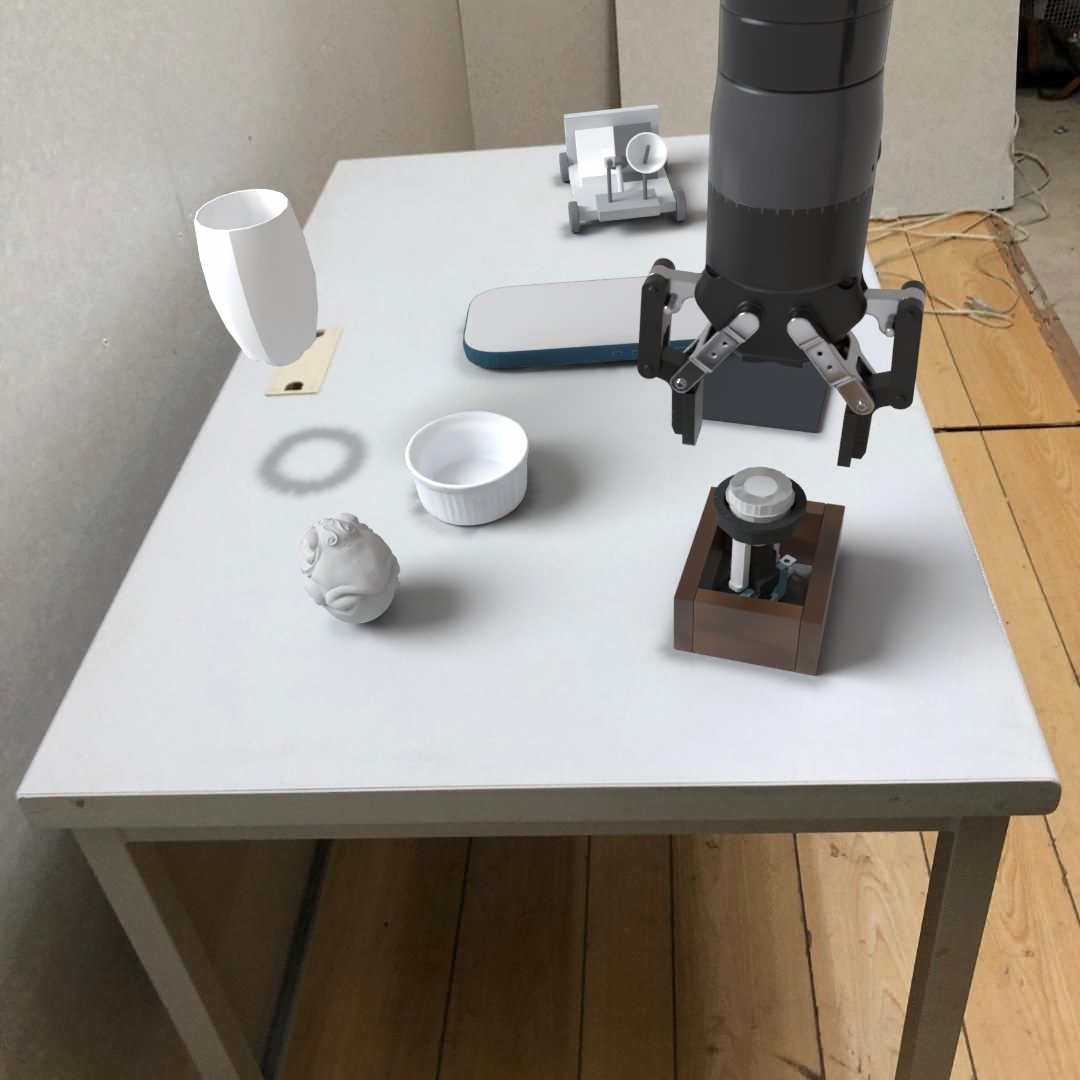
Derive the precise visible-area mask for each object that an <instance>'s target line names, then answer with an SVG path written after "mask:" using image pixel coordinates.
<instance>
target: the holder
mask: <svg viewBox="0 0 1080 1080" xmlns="http://www.w3.org/2000/svg"><path fill="white" fill-rule="evenodd" d="M717 487H718V486H711V487H710V489H709V492H708V495H707V497H706V501H705V504H704V507H703V510H702V513H701V515H700V518H699V522H698V524H697V528H696V531H695V533H694V537H693V540H692V543H691V545H690V548H689V550H688V551H689V552H688V554H687V557H686V560H685V563H684V566H683V570H682V572H681V575H680V578H679V581H678V583H677V587H676V590H675V593H674V595H673V649H675V650H679V651H684V652H690V653H694V654H699V655H700V654H701V655H706V656H710V657H715V658H716V657H717V658H721V659H727V660H731V661H732V660H733V661H737V662H741V663H748V664H753V665H759V666H763V667H768V668H774V669H778V670H779V669H780V670H785V671H790V672H795V673H800V674H806V675H811V676H815V675H816V674H817V669H818V663H819V659H820V655H821V654H820V653H821V649H822V644H823V643H822V642H823V638H824V632H825V626H826V622H827V616H828V611H829V607H830V601H831V597H832V591H833V586H834V580H835V574H836V570H837V566H838V559H839V554H840V546H841V539H842V534H843V533H842V532H843V525H844V518H845V512H846V505H843V504H835V503H828V502H827V503H825V502H821V501H815V500H808V499H807V507H806V512H805V515H804V516H803V518H802V519H801V521H800V523H799V525H798V527H797V529H796V530H795V532H794V534H793V536H792V537H791V538H789V539H787V540H785V541H783V542H781V543H780V546H779V554H780V560H781V559H782V558H783V557H784V556H786V555H789V556H791V557H793V558H795V559H796V562H795V563H800V564H805V565H806V564H807V565H812V567H811V571H810V576H809V582H808V586H807V591H806V595H805V600H804V605H799V604H792V603H787V602H782V601H778V602H776V601H770V600H765V599H759V598H753V597H747V596H741V595H736V594H730V593H724V592H718V591H714V590H712V589H713V586H714V583H715V579H716V576H717V573H718V570H719V567H720V563H721V560H722V557H723V554H724V551H726V552H731V553H732V545H733V538H732V537H731V536H730V535H728V534H727V533H726V532H725V531H724V530H723V529H722V528H720V527H719V525H718V521H717V516H716V512H715V510H714V506H713V496H714V492H715V490H716V488H717ZM728 506H729V505H728ZM728 506H727V509H728ZM791 513H792V511H791V510H790V514H791ZM785 561H787V562H790V560H785Z"/></svg>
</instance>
